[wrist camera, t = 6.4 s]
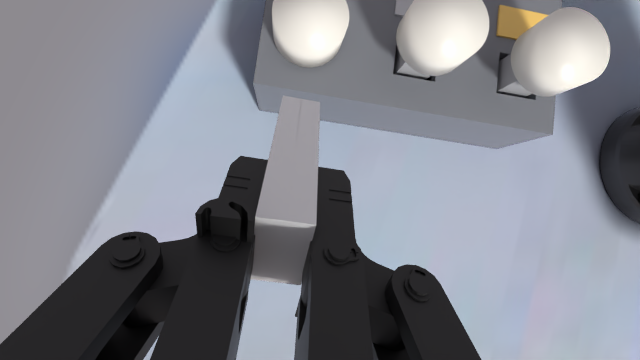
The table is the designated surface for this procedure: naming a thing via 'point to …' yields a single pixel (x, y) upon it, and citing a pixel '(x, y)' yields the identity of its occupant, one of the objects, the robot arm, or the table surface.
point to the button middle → (439, 36)
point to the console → (412, 79)
